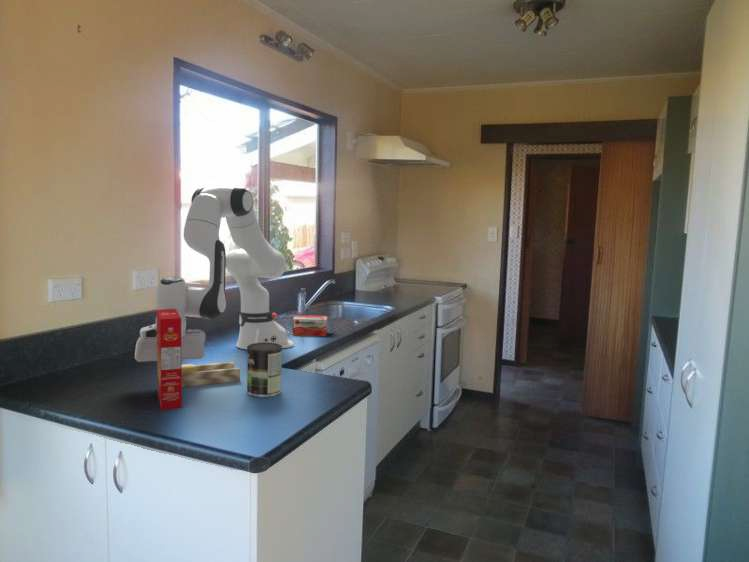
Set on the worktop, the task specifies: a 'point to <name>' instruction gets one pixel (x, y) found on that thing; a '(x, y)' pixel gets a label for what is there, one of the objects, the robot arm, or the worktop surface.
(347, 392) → the worktop surface
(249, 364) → the coffee can
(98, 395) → the worktop surface
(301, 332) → the medicine box
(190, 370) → the block
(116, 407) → the worktop surface
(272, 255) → the robot arm
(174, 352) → the food packaging
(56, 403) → the worktop surface
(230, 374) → the u-shaped frame
